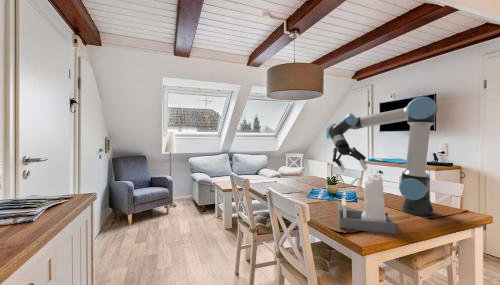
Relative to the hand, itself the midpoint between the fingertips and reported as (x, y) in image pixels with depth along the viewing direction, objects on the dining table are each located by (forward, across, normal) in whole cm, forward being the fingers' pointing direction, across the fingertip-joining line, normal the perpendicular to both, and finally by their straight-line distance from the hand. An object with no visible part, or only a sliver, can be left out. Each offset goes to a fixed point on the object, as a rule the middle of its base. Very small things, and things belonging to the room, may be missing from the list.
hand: (354, 169), depth 133 cm
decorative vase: (+30, +1, -6) cm, 31 cm away
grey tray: (+29, +5, -7) cm, 30 cm away
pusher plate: (+25, +14, -9) cm, 30 cm away
